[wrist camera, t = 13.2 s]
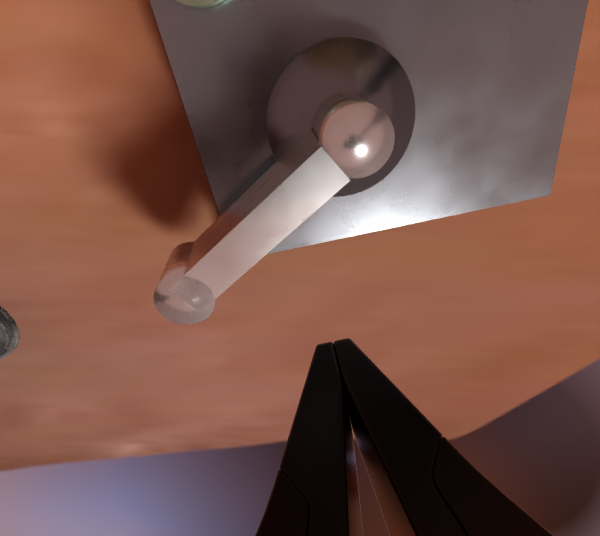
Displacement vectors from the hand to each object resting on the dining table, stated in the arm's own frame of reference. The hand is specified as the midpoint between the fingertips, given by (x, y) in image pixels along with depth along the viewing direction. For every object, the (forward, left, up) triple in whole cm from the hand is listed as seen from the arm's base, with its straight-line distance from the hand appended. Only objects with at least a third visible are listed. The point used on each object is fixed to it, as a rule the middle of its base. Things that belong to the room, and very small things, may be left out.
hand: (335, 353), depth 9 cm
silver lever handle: (-2, -3, -9) cm, 10 cm away
